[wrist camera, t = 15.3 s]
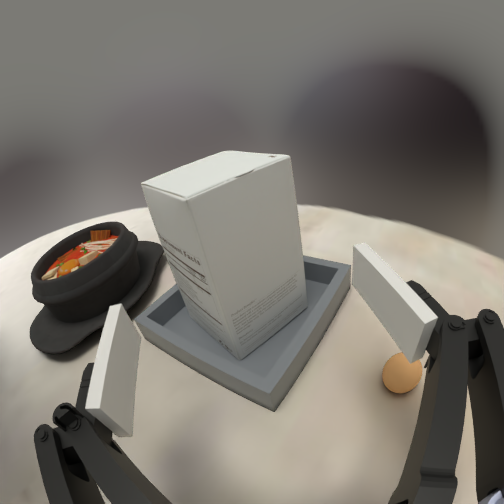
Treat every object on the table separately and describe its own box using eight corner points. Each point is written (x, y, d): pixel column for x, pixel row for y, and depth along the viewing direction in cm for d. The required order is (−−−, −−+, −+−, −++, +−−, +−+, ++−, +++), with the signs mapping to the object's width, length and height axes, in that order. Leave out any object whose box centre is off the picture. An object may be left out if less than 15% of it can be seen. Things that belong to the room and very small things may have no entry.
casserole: (116, 248, 49) (100, 208, 45) (195, 254, 42) (179, 202, 37) (21, 337, 30) (-9, 293, 26) (82, 387, 23) (34, 330, 18)
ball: (373, 394, 18) (380, 372, 17) (385, 363, 20) (392, 339, 19) (410, 404, 17) (422, 383, 15) (419, 372, 19) (430, 348, 17)
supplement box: (251, 275, 34) (224, 148, 26) (309, 307, 27) (295, 153, 20) (187, 315, 29) (137, 181, 22) (238, 364, 23) (184, 196, 15)
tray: (145, 339, 28) (133, 319, 26) (233, 260, 38) (229, 240, 37) (274, 411, 19) (269, 393, 18) (350, 287, 30) (350, 265, 28)
